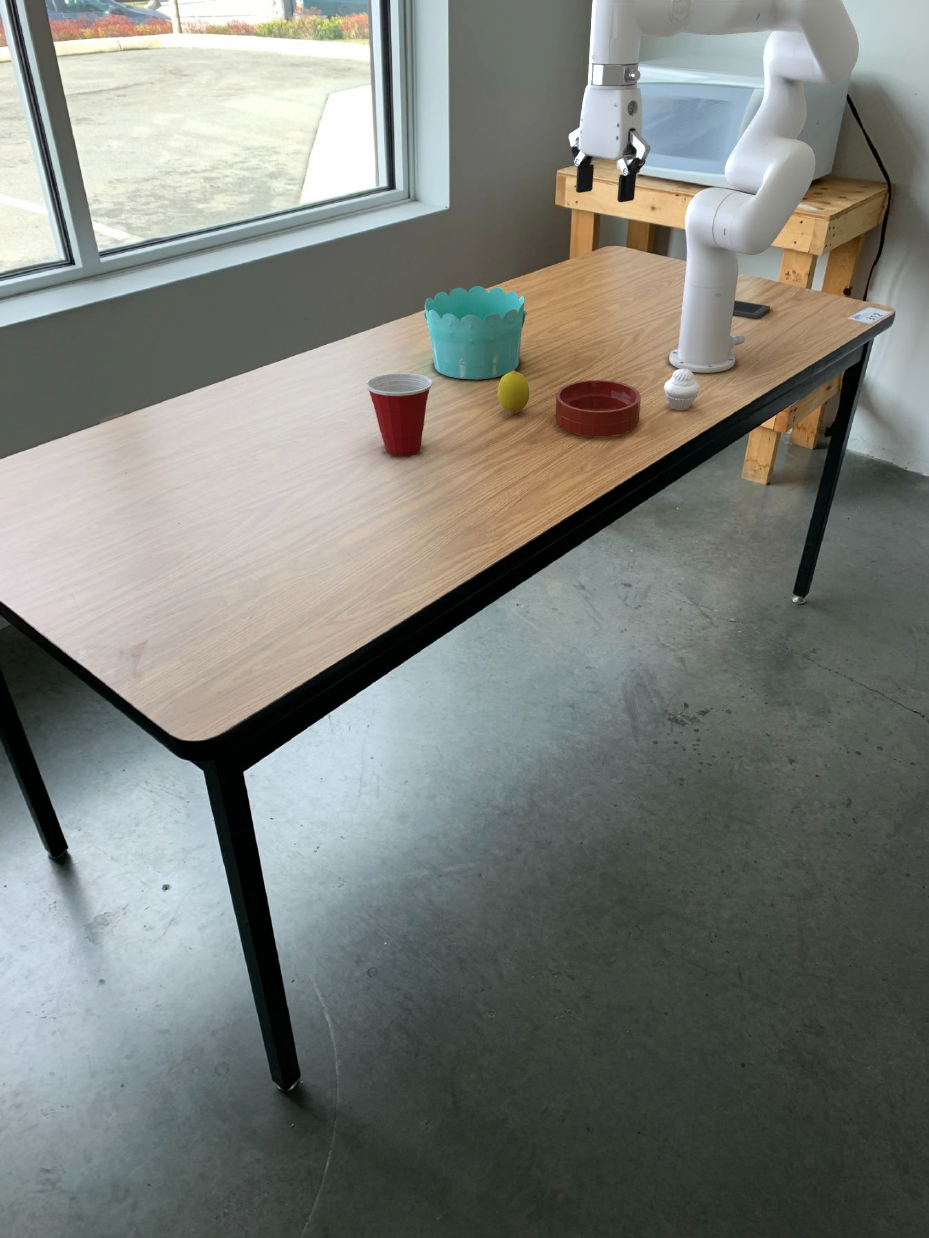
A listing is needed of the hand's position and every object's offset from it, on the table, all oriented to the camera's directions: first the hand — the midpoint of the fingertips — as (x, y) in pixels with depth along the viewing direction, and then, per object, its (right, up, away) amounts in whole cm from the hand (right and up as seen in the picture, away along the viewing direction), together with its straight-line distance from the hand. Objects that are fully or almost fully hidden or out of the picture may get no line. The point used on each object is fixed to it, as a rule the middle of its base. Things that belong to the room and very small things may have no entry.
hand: (604, 196), depth 158 cm
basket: (-21, -19, +34) cm, 44 cm away
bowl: (0, -35, +10) cm, 36 cm away
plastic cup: (-33, -41, +4) cm, 53 cm away
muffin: (+15, -31, +14) cm, 38 cm away
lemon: (-14, -33, +14) cm, 38 cm away
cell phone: (+37, 0, +57) cm, 68 cm away
